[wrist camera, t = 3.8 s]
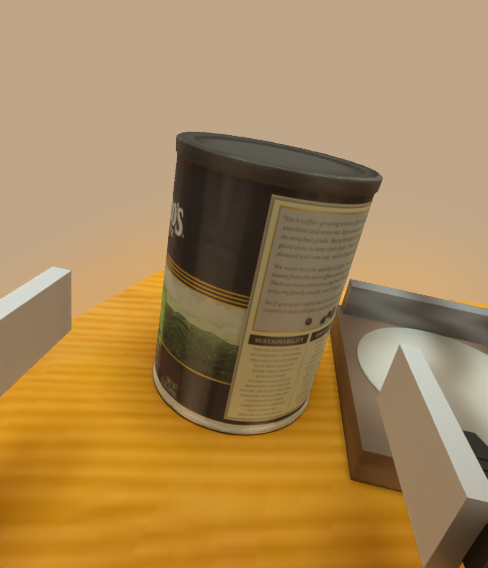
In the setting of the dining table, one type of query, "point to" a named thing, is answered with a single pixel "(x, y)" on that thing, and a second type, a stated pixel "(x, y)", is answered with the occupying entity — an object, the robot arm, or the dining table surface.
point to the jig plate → (378, 358)
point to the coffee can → (253, 277)
